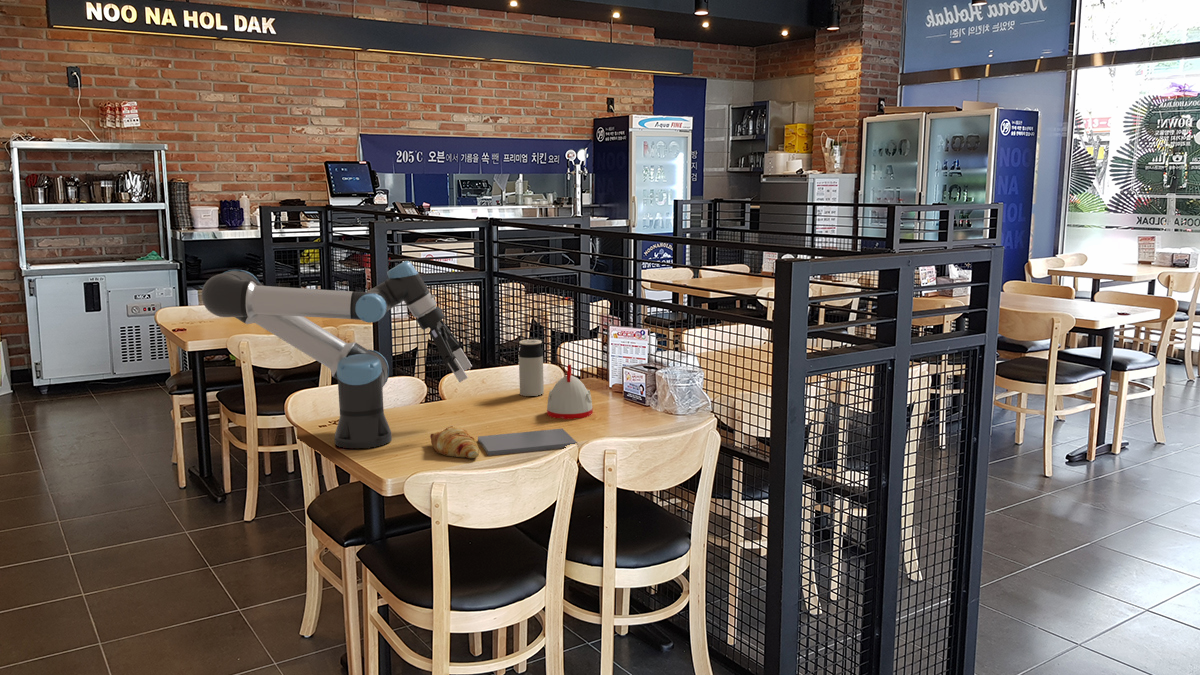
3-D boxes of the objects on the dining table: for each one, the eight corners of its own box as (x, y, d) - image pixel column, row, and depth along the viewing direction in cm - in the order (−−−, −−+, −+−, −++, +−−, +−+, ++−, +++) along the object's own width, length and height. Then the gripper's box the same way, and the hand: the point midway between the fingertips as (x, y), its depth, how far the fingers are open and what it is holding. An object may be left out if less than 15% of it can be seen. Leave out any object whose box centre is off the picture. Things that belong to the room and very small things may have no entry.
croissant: (487, 471, 235) (498, 442, 237) (457, 461, 228) (469, 431, 230) (440, 452, 250) (451, 425, 252) (412, 442, 244) (423, 414, 245)
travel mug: (534, 398, 300) (532, 344, 297) (515, 395, 304) (513, 342, 301) (548, 393, 306) (547, 340, 303) (529, 390, 311) (528, 338, 308)
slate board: (488, 456, 237) (488, 451, 236) (478, 441, 251) (477, 436, 250) (577, 447, 244) (577, 442, 244) (562, 433, 258) (562, 428, 258)
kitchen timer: (593, 408, 286) (592, 361, 284) (591, 419, 272) (591, 370, 270) (549, 408, 287) (548, 361, 284) (545, 419, 273) (544, 370, 270)
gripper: (432, 313, 248) (473, 378, 252) (443, 298, 272) (480, 357, 276) (408, 326, 248) (450, 391, 253) (421, 310, 273) (459, 370, 277)
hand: (466, 374), depth 265 cm, fingers open, 13 cm apart
